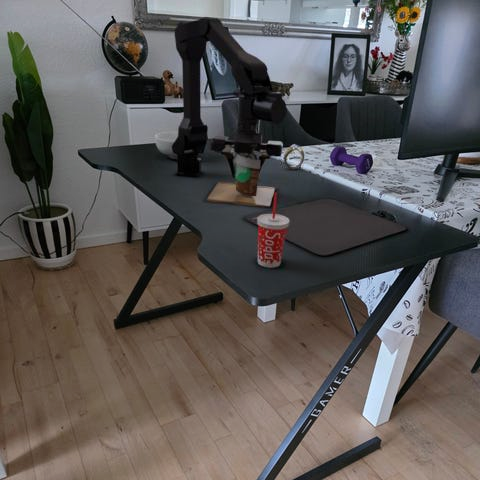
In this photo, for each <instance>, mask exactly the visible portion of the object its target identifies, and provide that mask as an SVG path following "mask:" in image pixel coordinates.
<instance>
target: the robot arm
mask: <svg viewBox="0 0 480 480" xmlns="http://www.w3.org/2000/svg"><path fill="white" fill-rule="evenodd" d="M174 41H175V48H176V51H177V53H178V55H179V57H180V59H181V63H182V64H181V65H182V66H181V69H182V70H181V71H182V106H183V107H182V108H183V109H182V111H183V117H182V119H181V122H180V123H179V126H178V129H177V131H178V137H177V139H176V140H175V142H174V143H173V145H172V151H173V153H174V154H177V159H176V160H177V161H176V162H177V164H176V165H177V171H176V172H175V175H177V176H185V177H196V178H197V177H198V175H200V174H201V172H202V158H201V157H200V154H204V153H205V149H206V146H207V142H208V140H209V135H208V130H209V126H208V125H207V124H205V123H204V121H203V119H202V115H201V109H202V108H201V103H202V102H201V101H202V99H201V94H202V93H201V62H202V59H203V57H204V54H205V53H206V51H207V44H208V42H210V43H211V44H212V46H213V47H214V48H215V50H217V52H218V53H219V54H220V55H221V56H222V57H223V59H224V60H225V61H226V63H228V64H229V66H230V69H231V70H230V71H231V75H232V78H233V79H234V80H235V83H236V84H237V86H238V87H237V88H236V89H235V90H234V91H233V92H232V95H233V96H235V97H238V106H237V121H236V122H237V124H236V130H235V133H234V138H233V140H230V139H229V136H227V135H215V136H214V137H213V138H212V139H211V140H210V149H209V150H210V151H214V152H215V151H217V152H220V155H224V156H225V159H226V160H227V162H228V166H229V169H230V173H231V176H232V178H233V179H236V163H235V162H234V156H235V153H247V154H252V153H253V150H254V151H257V152H259V154H258V158H257V159H258V160H260V169H259V174H260V172H261V171H262V168H263V166H264V164H265V162H266V160H270V159H271V158H272V157H275V158H276V157H277V158H280V157H282V154H283V149H284V148H283V147H284V144H283V142H282V141H278V140H268V141H267V142H266V143H263V133H260V123H261V121H262V122H266V123H271V124H275V125H281V124H282V123H283V121H284V120H285V119H286V115H287V112H288V107H287V103H286V100H284V99H283V92H280V91H279V92H275V89H274V85H273V83H272V81H271V78H270V75H269V73H268V67H267V65H266V63H265V62H264V61H262V60H261V59H259V58H258V57H257V56H255V55H253V54H251V53H249V52H247V51H246V50H245V49H244V48H243V47H242V46H241V45H240V44H239V42H238V41H237V40H236V38H234V37H233V35H232V34H231V33H230V32H229V31H228V29H227V28H226V27H225V26H224V25H223V22H222V20H221V19H219V18H218V17H214V16H213V17H210V16H204V17H201V18H199V19H196V20H191V21H179V23H178V24H177V26H175V28H174Z"/></svg>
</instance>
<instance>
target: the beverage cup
mask: <svg viewBox="0 0 480 480" xmlns="http://www.w3.org/2000/svg"><path fill="white" fill-rule="evenodd" d="M277 201H278V192H274V195H273V206H272V207H273V208H272V210H273V214H263V215H260V216H258V218H257V220H258V221H257V223H258V227H257V230H258V231H257V263H258V265H260V266H261V267H264V268H269V269H270V268H271V269H272V268H277V267H279V266H281V263H282V257H283V253H284V246H285V241H286V239H285V236H286V231H287V227H288V226H289V221H290V220H289V219H288V218H287V217H285V216H282V215H277V214H275V211H276V209H277Z"/></svg>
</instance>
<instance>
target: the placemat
mask: <svg viewBox="0 0 480 480" xmlns="http://www.w3.org/2000/svg"><path fill="white" fill-rule="evenodd" d="M275 191H276V187H271V186H262V185H257V193H256V196H248V195H244V194H241V193H239V192H237V191H236V183H233V182H232V183H231V182H221V181H218V182H217V183H216V185H215V186H214V188H213V189H212V191H211V192H210V194H209V195H208V197H207V198H206V202H212V203H213V202H214V203H222V204H231V205H239V206H240V205H241V206H251V207H261V208H268V209H269V208H270V207H271V204H272V200H273V199H274V195H275Z"/></svg>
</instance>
